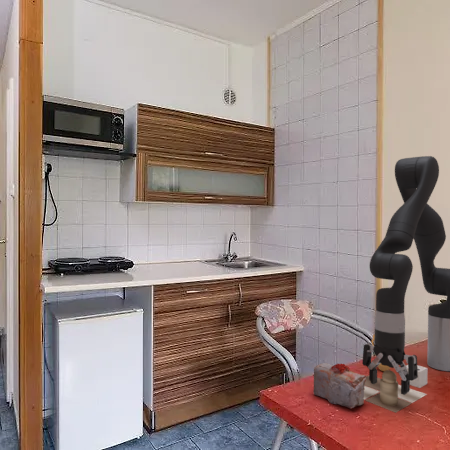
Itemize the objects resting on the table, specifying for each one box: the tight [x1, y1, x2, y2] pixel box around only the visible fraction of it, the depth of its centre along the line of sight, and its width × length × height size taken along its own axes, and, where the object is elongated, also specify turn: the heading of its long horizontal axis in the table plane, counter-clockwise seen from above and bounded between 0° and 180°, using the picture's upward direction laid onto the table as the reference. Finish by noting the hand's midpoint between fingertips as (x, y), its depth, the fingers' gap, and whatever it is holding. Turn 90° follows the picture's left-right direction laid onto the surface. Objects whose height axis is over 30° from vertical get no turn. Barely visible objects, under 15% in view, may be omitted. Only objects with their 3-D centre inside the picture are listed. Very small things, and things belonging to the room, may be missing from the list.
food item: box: [312, 362, 367, 410], centre depth 107 cm, size 14×8×10 cm, turn 43°
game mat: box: [364, 374, 428, 414], centre depth 112 cm, size 18×18×1 cm
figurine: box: [370, 333, 392, 372], centre depth 129 cm, size 8×6×12 cm
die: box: [405, 364, 429, 389], centre depth 119 cm, size 5×5×5 cm
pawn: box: [379, 369, 399, 406], centre depth 106 cm, size 4×4×8 cm
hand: (388, 388), depth 106 cm, fingers open, 8 cm apart
